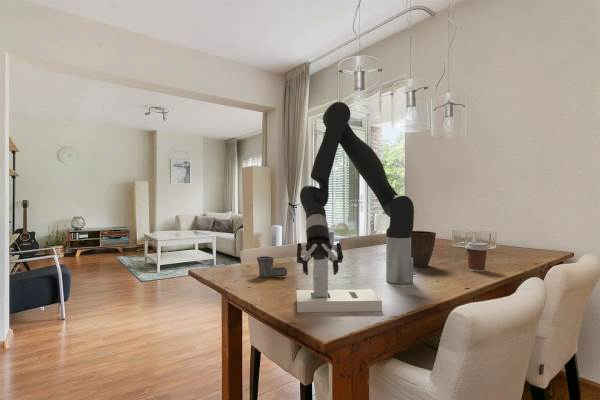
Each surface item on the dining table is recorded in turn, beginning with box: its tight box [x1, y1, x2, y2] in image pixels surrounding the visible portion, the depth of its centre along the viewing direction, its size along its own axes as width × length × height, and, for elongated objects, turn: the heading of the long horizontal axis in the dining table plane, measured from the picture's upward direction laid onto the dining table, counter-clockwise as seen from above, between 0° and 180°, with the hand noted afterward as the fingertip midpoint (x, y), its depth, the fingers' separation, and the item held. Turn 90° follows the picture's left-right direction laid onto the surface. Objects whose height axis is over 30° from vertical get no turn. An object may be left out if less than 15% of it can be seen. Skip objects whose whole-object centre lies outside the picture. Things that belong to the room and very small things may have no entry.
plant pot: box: [411, 230, 437, 268], centre depth 150 cm, size 15×15×16 cm
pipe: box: [256, 255, 288, 278], centre depth 128 cm, size 6×13×8 cm, turn 78°
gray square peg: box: [312, 257, 329, 298], centre depth 94 cm, size 4×4×14 cm
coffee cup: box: [465, 241, 489, 273], centre depth 140 cm, size 9×9×12 cm
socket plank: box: [296, 288, 383, 313], centre depth 94 cm, size 24×11×3 cm, turn 92°
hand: (321, 273), depth 93 cm, fingers open, 8 cm apart
